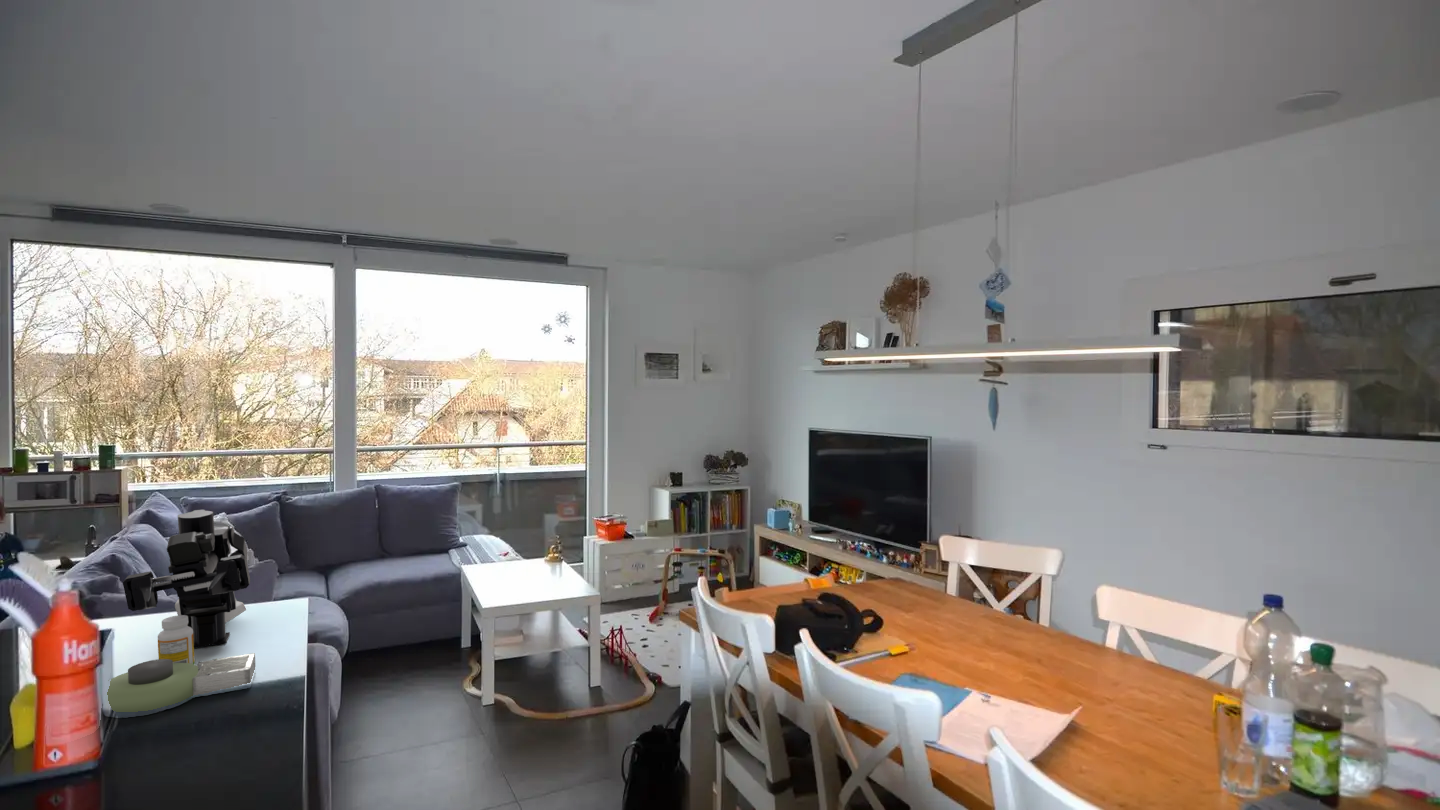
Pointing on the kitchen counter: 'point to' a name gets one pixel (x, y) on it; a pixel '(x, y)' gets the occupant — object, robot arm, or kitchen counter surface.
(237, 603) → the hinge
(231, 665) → the white open tray
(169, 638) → the supplement bottle
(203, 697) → the kitchen counter surface
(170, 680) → the green base with knob
